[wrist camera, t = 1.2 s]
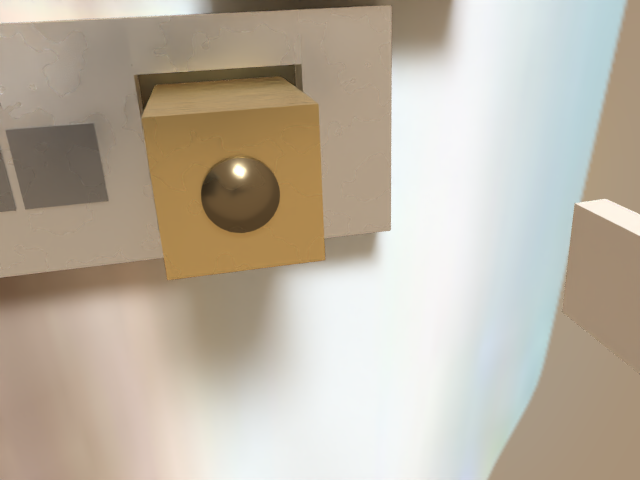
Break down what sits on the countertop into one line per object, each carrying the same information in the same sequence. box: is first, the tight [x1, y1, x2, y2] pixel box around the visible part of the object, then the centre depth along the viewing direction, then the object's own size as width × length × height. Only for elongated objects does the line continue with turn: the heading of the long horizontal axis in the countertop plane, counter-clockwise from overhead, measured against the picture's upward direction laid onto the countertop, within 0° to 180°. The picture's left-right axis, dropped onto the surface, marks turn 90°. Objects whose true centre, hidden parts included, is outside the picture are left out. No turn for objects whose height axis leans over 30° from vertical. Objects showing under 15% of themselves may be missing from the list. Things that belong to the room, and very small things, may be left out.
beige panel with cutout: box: [0, 5, 392, 278], centre depth 27 cm, size 22×11×2 cm, turn 93°
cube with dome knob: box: [141, 76, 325, 280], centre depth 25 cm, size 6×6×9 cm
